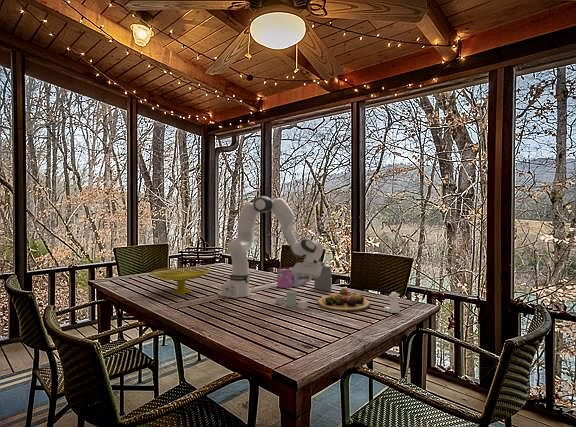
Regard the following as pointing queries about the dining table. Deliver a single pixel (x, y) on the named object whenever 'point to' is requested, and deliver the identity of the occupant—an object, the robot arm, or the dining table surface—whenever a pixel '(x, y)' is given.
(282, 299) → the grey block
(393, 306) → the seated beast figurine
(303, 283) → the gum box
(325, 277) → the hip flask
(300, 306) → the cream block
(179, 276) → the cake stand
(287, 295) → the sage-green pillar
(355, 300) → the wooden plate with food
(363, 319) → the dining table surface
